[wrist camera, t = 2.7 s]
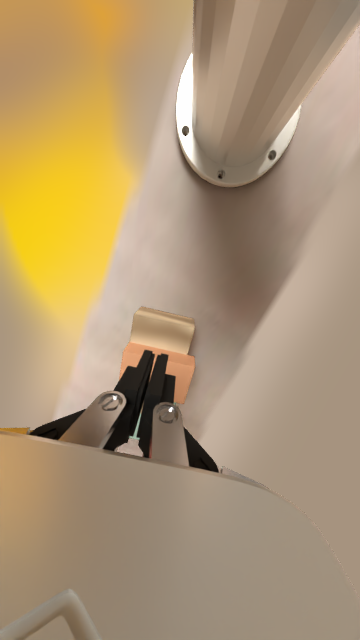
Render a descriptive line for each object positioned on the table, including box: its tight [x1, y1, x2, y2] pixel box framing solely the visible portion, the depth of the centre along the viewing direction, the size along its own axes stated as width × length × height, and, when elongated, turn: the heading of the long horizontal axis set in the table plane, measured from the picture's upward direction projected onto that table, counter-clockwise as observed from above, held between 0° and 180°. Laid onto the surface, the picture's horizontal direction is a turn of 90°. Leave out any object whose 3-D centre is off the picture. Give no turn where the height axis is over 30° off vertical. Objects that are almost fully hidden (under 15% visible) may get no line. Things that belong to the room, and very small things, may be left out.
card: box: [119, 342, 195, 404], centre depth 24 cm, size 6×9×2 cm, turn 77°
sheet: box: [130, 307, 195, 413], centre depth 27 cm, size 16×8×4 cm, turn 167°
